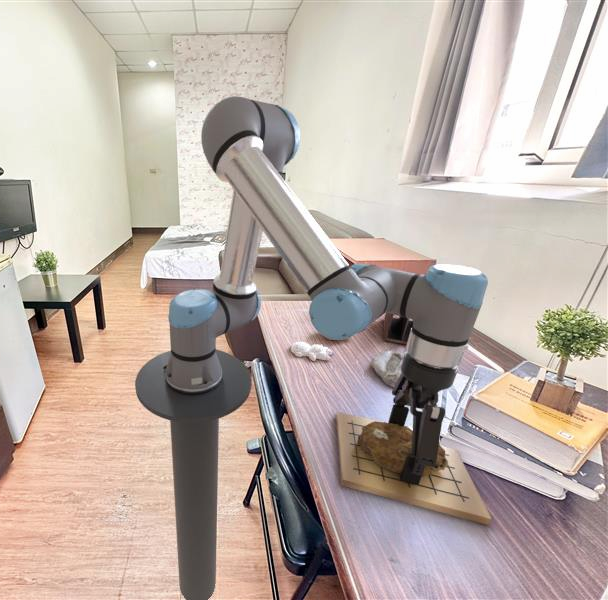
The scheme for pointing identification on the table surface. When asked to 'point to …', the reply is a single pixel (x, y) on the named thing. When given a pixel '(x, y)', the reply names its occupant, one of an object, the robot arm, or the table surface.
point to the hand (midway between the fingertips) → (400, 454)
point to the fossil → (388, 366)
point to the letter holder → (397, 329)
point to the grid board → (381, 481)
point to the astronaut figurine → (311, 351)
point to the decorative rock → (393, 446)
